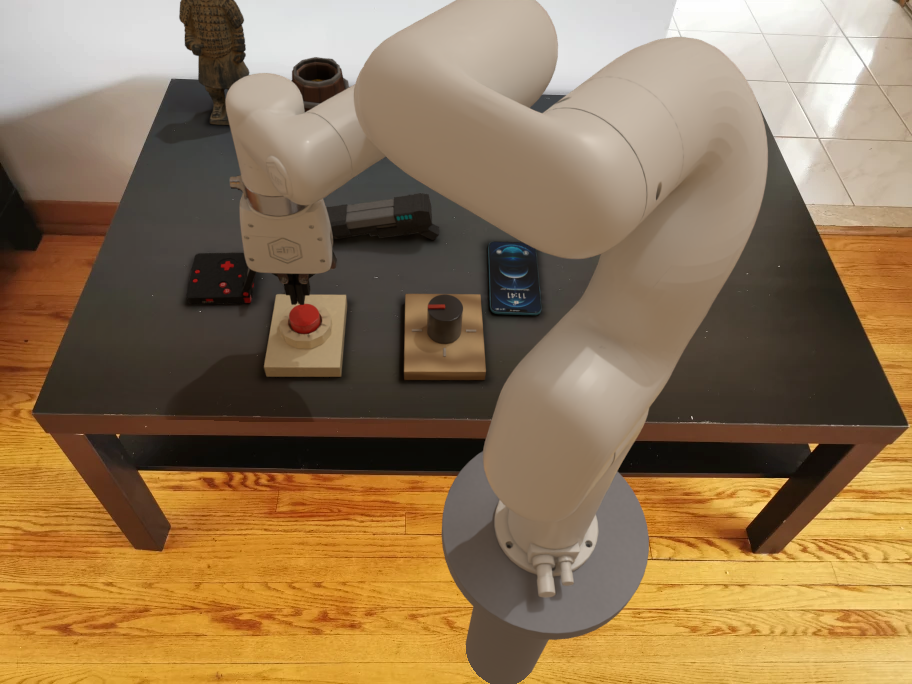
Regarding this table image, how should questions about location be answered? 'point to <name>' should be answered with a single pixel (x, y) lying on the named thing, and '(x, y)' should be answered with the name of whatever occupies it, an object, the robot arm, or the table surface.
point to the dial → (444, 319)
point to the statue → (215, 47)
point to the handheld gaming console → (220, 279)
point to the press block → (307, 339)
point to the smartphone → (513, 279)
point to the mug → (318, 80)
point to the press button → (304, 318)
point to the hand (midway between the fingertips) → (299, 296)
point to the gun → (384, 218)
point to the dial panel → (443, 359)
